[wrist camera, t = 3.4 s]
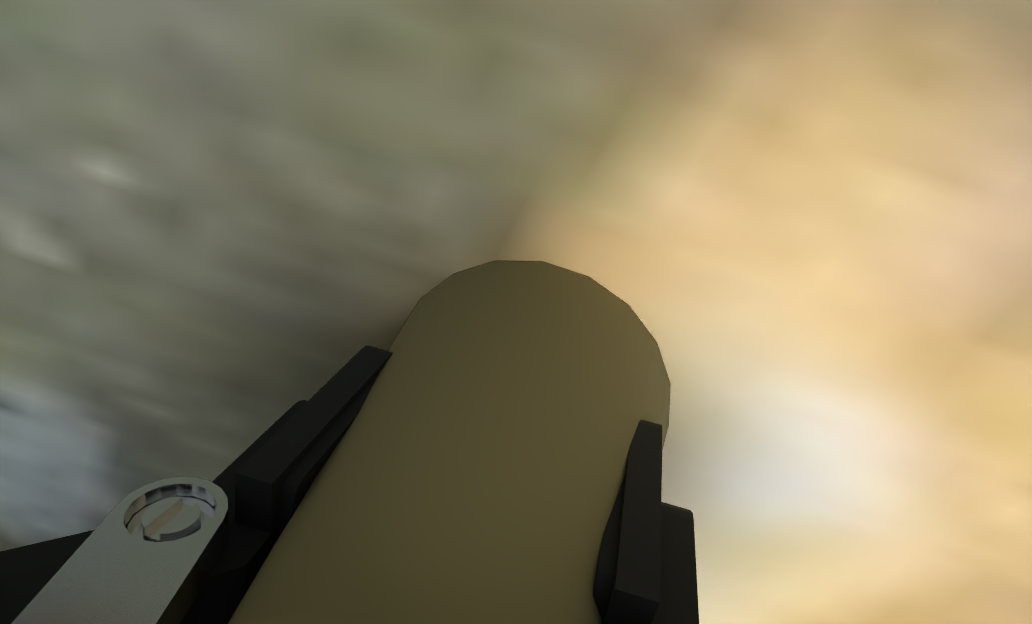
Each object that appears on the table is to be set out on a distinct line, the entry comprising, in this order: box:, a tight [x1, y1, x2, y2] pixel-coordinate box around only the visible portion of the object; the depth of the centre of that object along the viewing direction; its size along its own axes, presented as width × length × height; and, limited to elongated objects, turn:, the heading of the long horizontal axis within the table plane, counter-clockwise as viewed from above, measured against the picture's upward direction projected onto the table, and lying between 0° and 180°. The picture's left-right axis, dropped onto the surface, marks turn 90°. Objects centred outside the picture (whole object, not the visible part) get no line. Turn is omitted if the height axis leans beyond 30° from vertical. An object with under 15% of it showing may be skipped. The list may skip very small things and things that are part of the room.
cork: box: [228, 261, 670, 624], centre depth 9 cm, size 6×6×11 cm
